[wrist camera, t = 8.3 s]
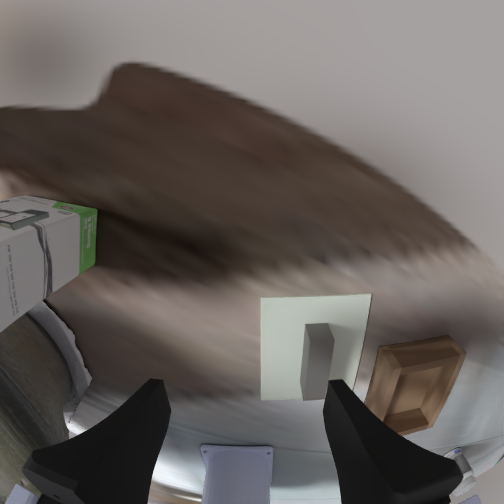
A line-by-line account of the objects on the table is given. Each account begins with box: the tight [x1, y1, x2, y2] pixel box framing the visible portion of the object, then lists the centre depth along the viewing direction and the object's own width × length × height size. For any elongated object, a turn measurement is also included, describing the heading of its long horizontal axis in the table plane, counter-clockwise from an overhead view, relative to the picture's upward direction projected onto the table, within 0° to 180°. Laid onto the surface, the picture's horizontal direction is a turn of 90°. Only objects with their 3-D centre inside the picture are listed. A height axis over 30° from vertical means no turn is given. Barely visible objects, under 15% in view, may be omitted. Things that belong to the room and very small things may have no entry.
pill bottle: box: [444, 448, 476, 497], centre depth 25 cm, size 5×5×8 cm
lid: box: [261, 293, 372, 401], centre depth 22 cm, size 11×9×3 cm
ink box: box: [0, 196, 97, 332], centre depth 14 cm, size 9×5×12 cm, turn 78°
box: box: [364, 335, 466, 436], centre depth 22 cm, size 10×8×3 cm
